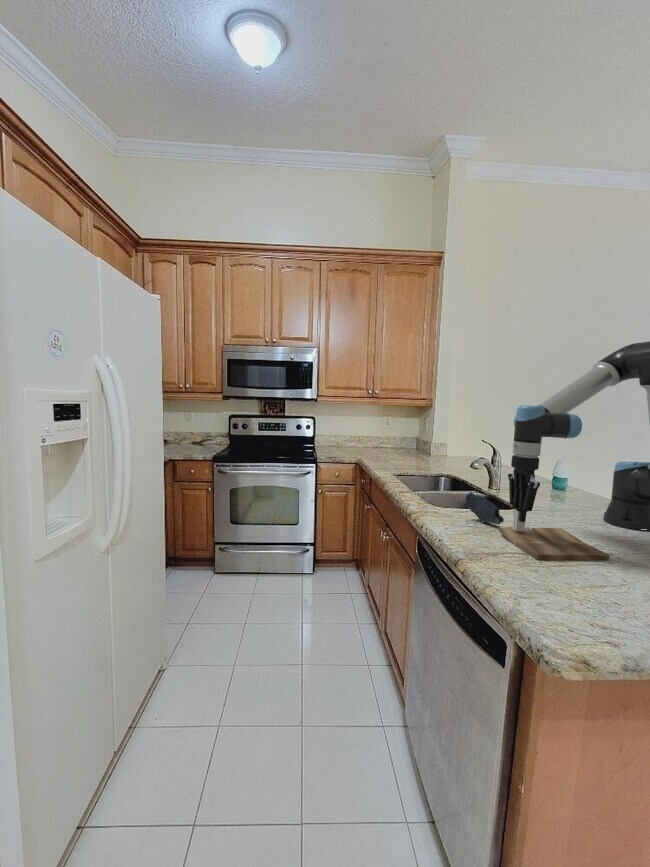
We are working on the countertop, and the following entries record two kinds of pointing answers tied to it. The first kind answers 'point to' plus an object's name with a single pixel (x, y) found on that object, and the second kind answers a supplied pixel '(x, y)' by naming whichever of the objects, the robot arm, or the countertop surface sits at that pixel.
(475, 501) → the stone
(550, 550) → the floor board
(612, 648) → the countertop surface
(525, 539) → the plank
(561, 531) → the plank
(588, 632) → the countertop surface
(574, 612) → the countertop surface
